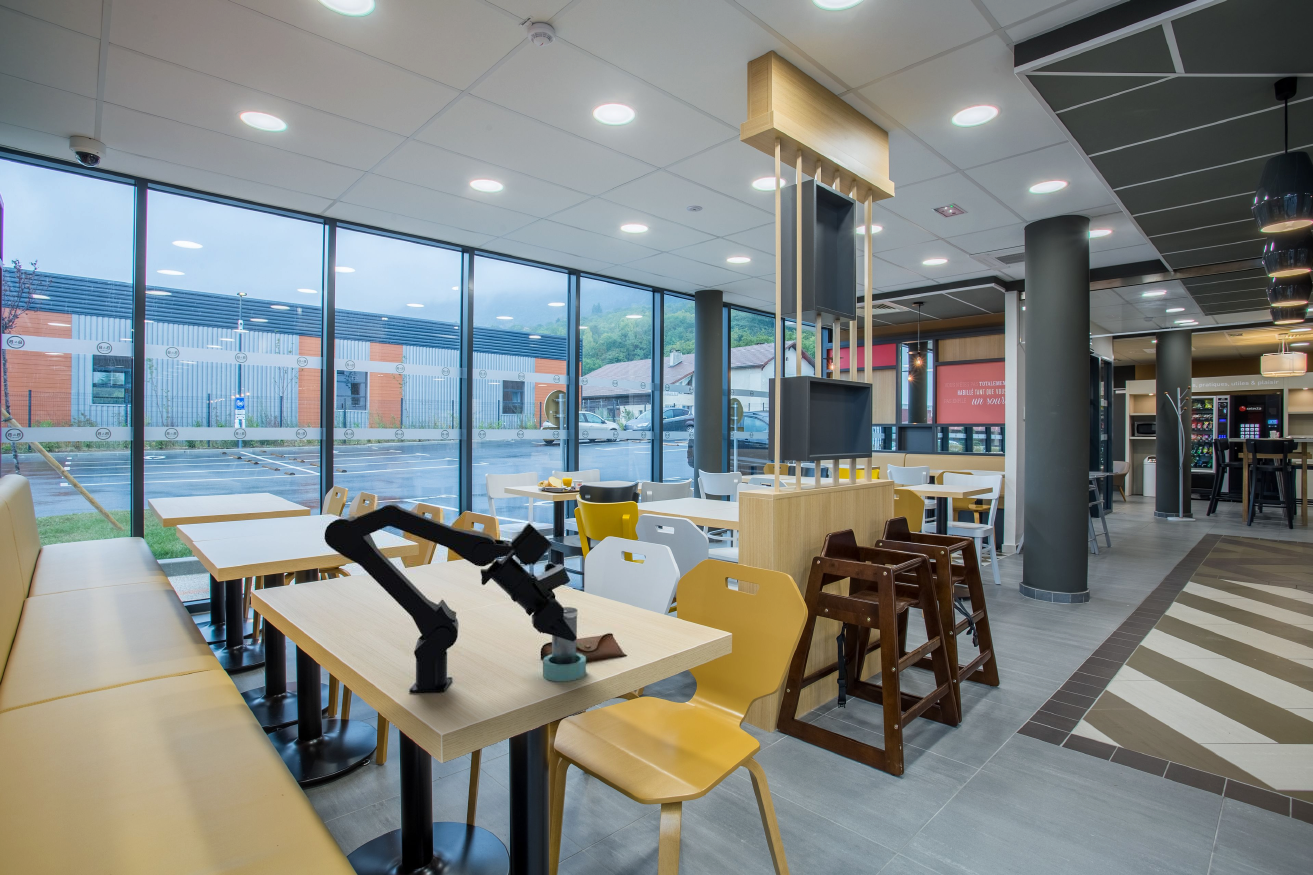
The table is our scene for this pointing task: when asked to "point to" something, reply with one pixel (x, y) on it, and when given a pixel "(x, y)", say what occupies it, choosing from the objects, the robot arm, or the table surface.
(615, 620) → the table surface
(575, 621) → the cylinder
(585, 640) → the sunglasses case
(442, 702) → the table surface
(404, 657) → the table surface
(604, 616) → the table surface
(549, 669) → the ring
